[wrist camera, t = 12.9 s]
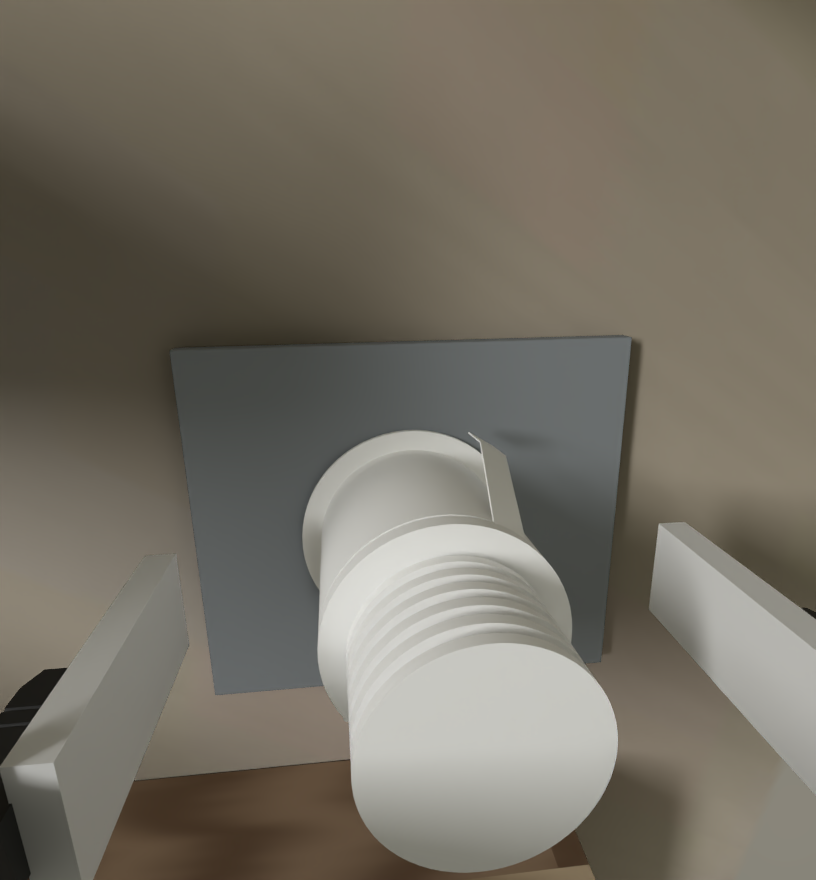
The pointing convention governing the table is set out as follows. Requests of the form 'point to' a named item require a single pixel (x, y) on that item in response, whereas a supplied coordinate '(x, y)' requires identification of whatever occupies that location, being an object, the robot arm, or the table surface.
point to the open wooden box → (278, 833)
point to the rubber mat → (369, 415)
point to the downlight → (451, 657)
